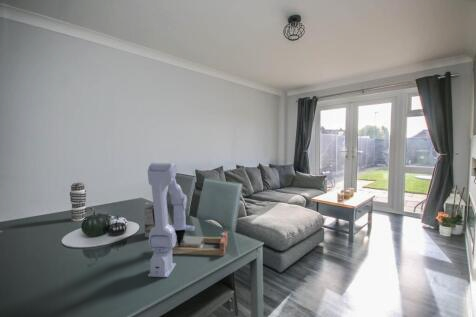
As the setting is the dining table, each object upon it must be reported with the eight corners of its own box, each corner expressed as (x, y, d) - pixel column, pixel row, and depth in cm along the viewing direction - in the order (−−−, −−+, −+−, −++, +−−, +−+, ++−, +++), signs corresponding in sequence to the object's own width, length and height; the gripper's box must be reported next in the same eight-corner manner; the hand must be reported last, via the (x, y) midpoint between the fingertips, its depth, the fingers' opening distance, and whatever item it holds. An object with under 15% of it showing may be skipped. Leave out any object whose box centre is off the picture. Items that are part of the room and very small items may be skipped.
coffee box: (155, 238, 121) (154, 209, 120) (144, 237, 122) (143, 208, 121) (163, 231, 130) (163, 204, 129) (153, 230, 131) (153, 204, 130)
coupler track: (223, 256, 101) (223, 243, 101) (170, 253, 103) (170, 241, 103) (227, 242, 116) (227, 231, 115) (181, 240, 118) (180, 229, 117)
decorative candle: (72, 217, 154) (71, 182, 152) (88, 216, 158) (86, 181, 156) (69, 222, 146) (67, 184, 144) (85, 220, 149) (84, 183, 148)
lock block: (200, 251, 106) (200, 243, 105) (180, 250, 106) (180, 242, 106) (204, 244, 114) (204, 236, 113) (185, 243, 114) (185, 236, 114)
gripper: (196, 215, 113) (196, 241, 114) (168, 214, 114) (169, 240, 115) (192, 220, 106) (192, 247, 107) (163, 219, 107) (163, 246, 108)
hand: (180, 244), depth 110 cm, fingers closed
